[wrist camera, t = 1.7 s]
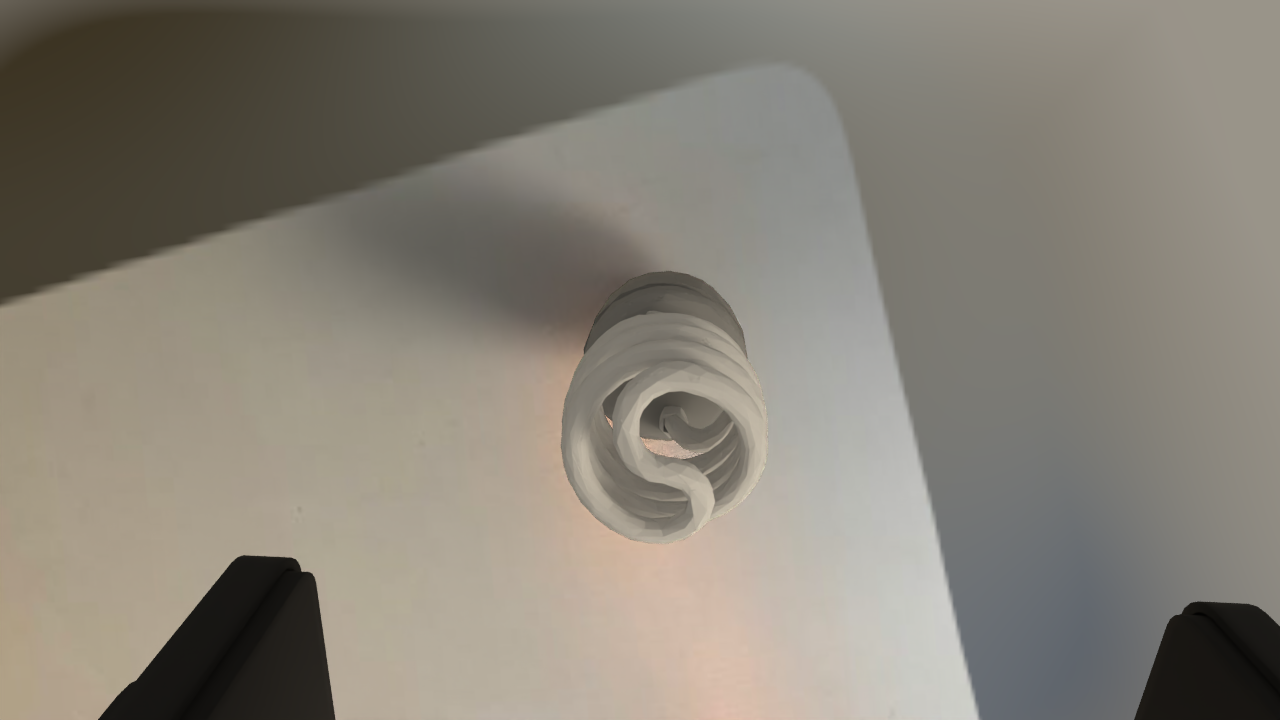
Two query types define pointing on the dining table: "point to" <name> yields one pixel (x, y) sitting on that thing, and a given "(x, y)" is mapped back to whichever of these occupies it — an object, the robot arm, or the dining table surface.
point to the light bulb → (664, 411)
